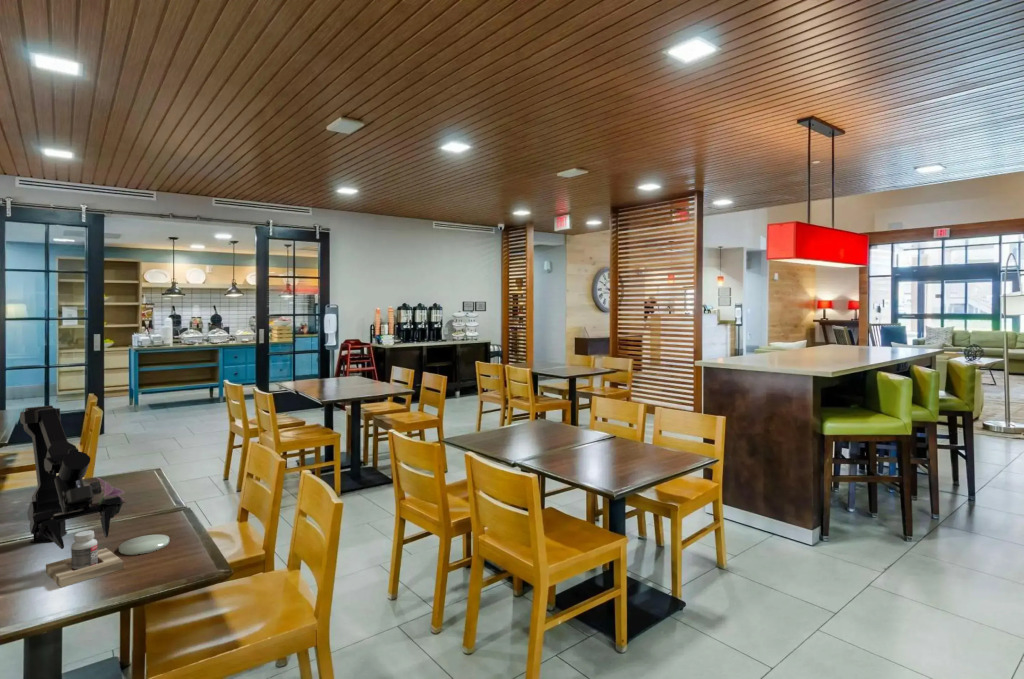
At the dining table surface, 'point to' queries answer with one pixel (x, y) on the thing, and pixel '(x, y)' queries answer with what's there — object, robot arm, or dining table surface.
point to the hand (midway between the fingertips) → (85, 542)
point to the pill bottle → (84, 550)
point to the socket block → (83, 569)
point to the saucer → (143, 544)
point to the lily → (110, 490)
